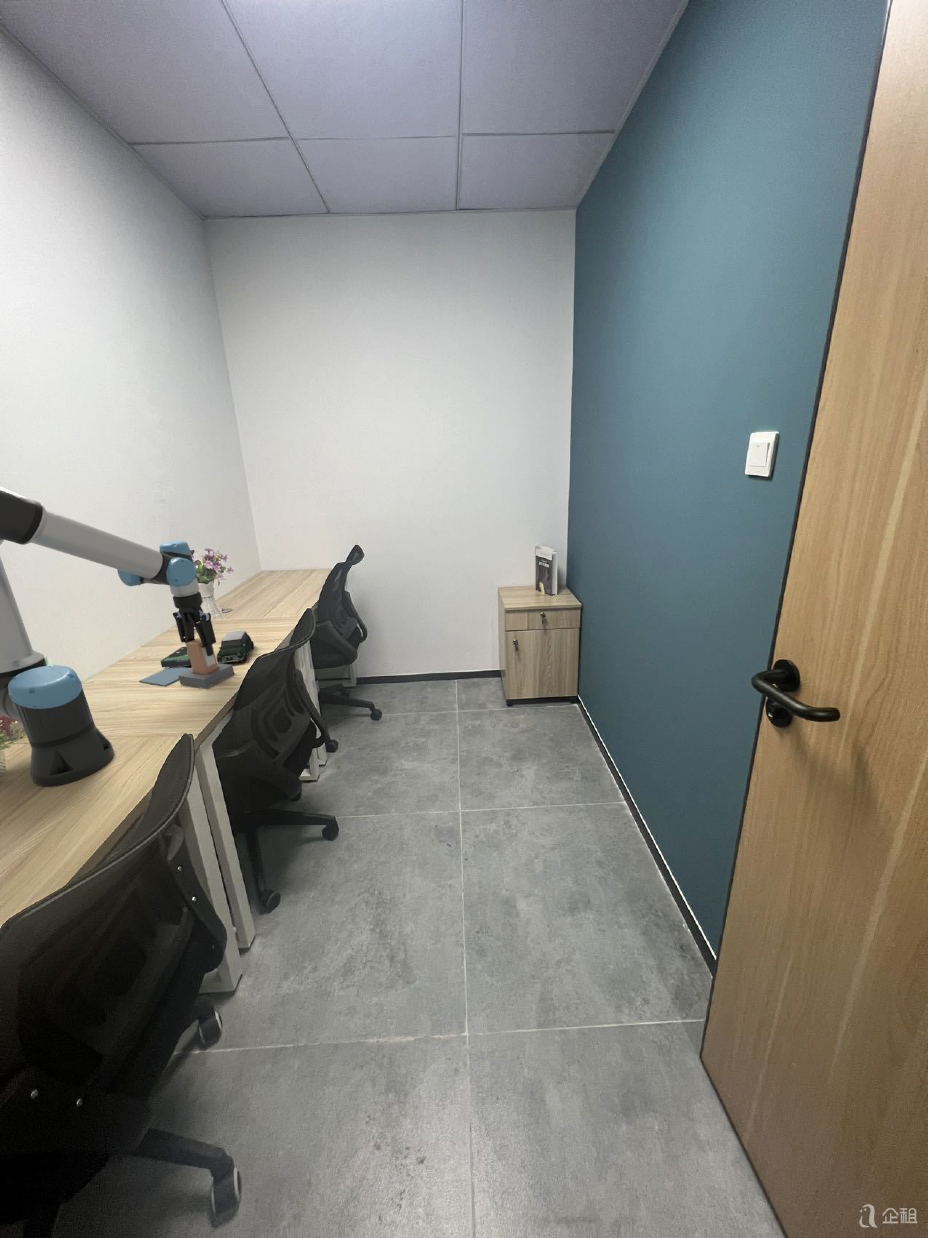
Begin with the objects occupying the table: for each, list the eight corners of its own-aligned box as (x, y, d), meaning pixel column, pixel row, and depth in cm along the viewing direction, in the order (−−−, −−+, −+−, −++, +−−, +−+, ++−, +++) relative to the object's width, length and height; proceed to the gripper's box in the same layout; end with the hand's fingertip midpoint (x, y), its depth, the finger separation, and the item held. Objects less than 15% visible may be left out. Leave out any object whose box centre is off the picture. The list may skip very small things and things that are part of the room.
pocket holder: (206, 688, 148) (203, 679, 147) (180, 684, 152) (178, 675, 151) (234, 673, 158) (232, 665, 157) (209, 670, 162) (207, 661, 161)
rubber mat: (165, 686, 151) (165, 685, 151) (139, 682, 156) (139, 680, 156) (198, 670, 162) (197, 669, 162) (172, 667, 166) (172, 665, 166)
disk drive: (183, 653, 178) (161, 668, 164) (181, 646, 178) (159, 660, 163) (211, 651, 179) (192, 666, 164) (210, 644, 178) (190, 658, 164)
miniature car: (216, 668, 163) (211, 646, 161) (229, 649, 180) (225, 629, 178) (244, 664, 165) (240, 643, 162) (255, 646, 182) (251, 626, 179)
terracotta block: (207, 683, 152) (197, 644, 148) (195, 681, 154) (185, 643, 150) (220, 676, 156) (210, 638, 152) (208, 674, 158) (199, 637, 154)
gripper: (218, 591, 146) (234, 662, 153) (176, 588, 152) (193, 656, 160) (197, 598, 139) (215, 671, 147) (153, 595, 146) (173, 665, 153)
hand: (204, 663), depth 153 cm, fingers closed on terracotta block, 5 cm apart
